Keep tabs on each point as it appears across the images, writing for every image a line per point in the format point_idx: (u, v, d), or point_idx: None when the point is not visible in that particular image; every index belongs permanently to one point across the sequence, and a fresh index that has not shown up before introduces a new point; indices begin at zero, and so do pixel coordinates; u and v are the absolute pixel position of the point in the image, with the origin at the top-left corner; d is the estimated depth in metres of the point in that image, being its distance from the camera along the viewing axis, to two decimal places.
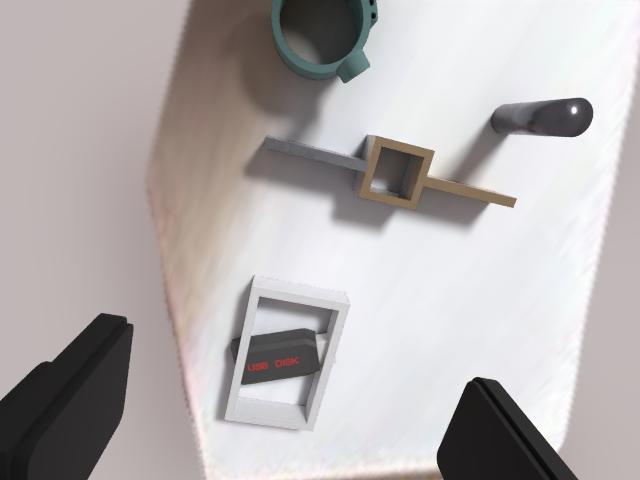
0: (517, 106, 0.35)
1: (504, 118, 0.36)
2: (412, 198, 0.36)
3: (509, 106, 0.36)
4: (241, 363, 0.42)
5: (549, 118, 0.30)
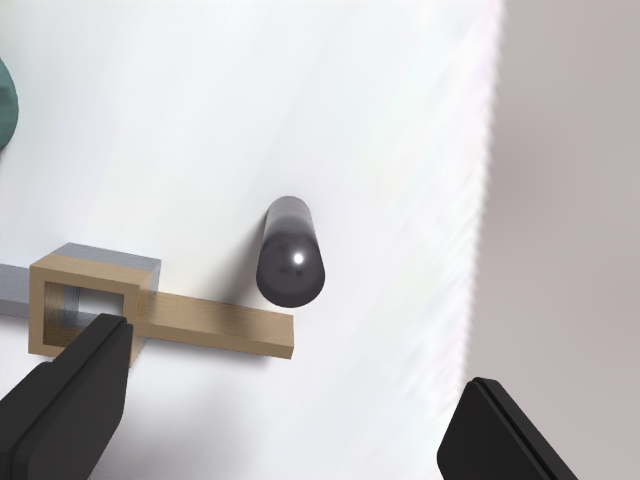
0: (272, 213, 0.22)
1: None
2: None
3: (274, 207, 0.23)
4: None
5: None
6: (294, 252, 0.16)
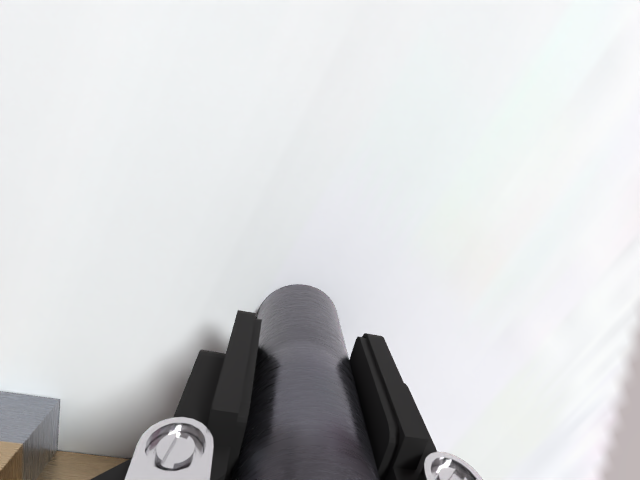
0: (264, 349, 0.10)
1: None
2: None
3: (269, 321, 0.11)
4: None
5: None
6: None
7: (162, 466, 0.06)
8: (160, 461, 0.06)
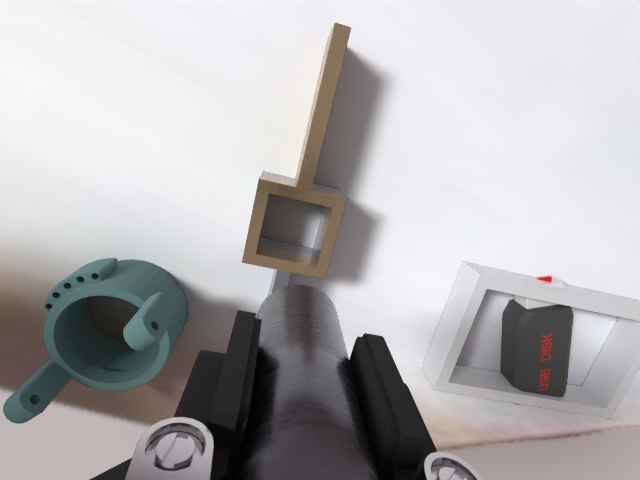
0: (264, 349, 0.10)
1: None
2: (328, 205, 0.25)
3: (269, 321, 0.11)
4: (535, 400, 0.33)
5: None
6: None
7: (162, 467, 0.06)
8: (160, 461, 0.06)
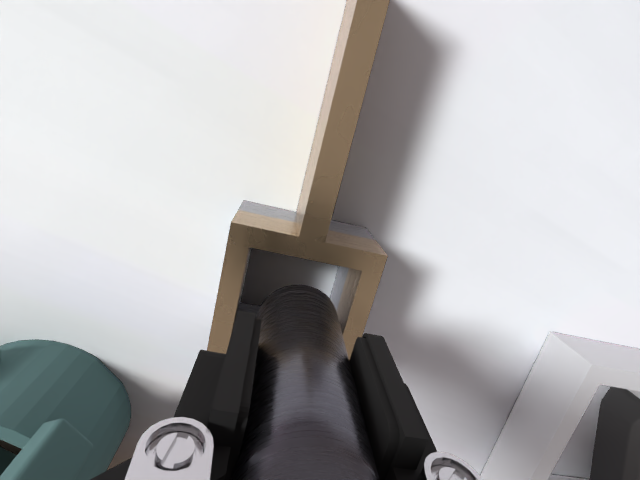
0: (264, 350, 0.10)
1: None
2: (356, 266, 0.14)
3: (269, 321, 0.11)
4: None
5: None
6: None
7: (162, 466, 0.06)
8: (160, 461, 0.06)
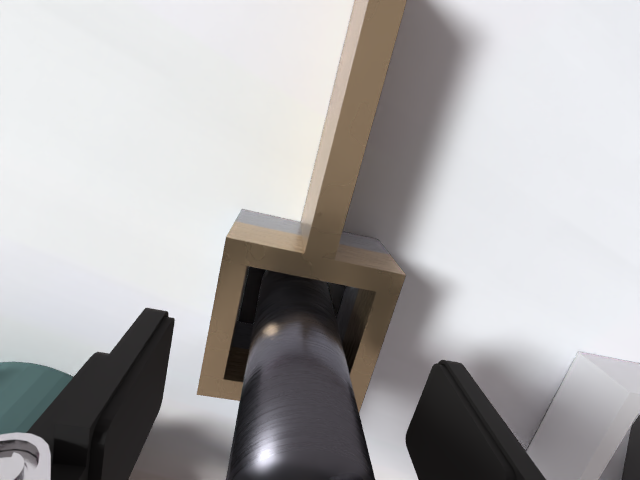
0: (267, 299, 0.13)
1: None
2: (369, 287, 0.12)
3: (271, 281, 0.14)
4: None
5: None
6: (310, 465, 0.07)
7: None
8: None
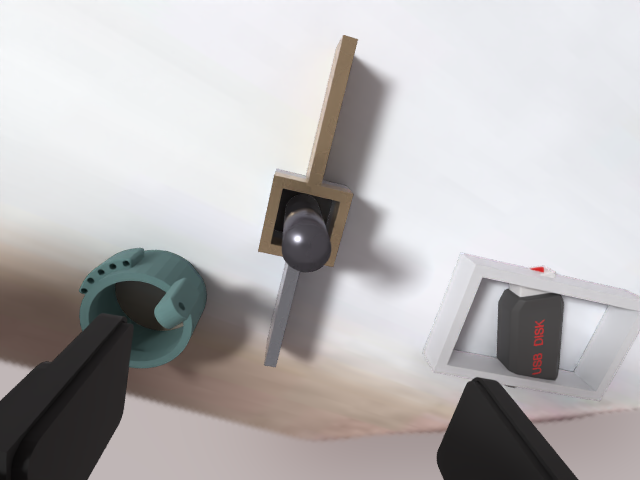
0: (291, 206, 0.28)
1: None
2: (337, 199, 0.27)
3: (291, 202, 0.29)
4: (528, 383, 0.35)
5: None
6: (309, 230, 0.22)
7: None
8: None
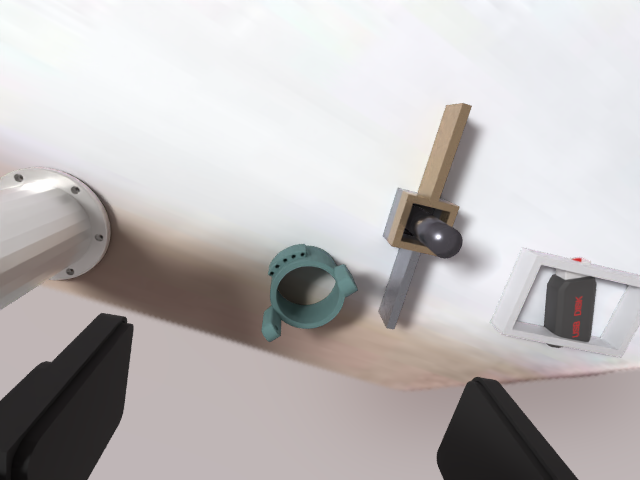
0: (415, 215, 0.40)
1: None
2: (448, 210, 0.40)
3: (411, 211, 0.41)
4: (569, 343, 0.48)
5: (427, 241, 0.35)
6: (450, 231, 0.34)
7: None
8: None
